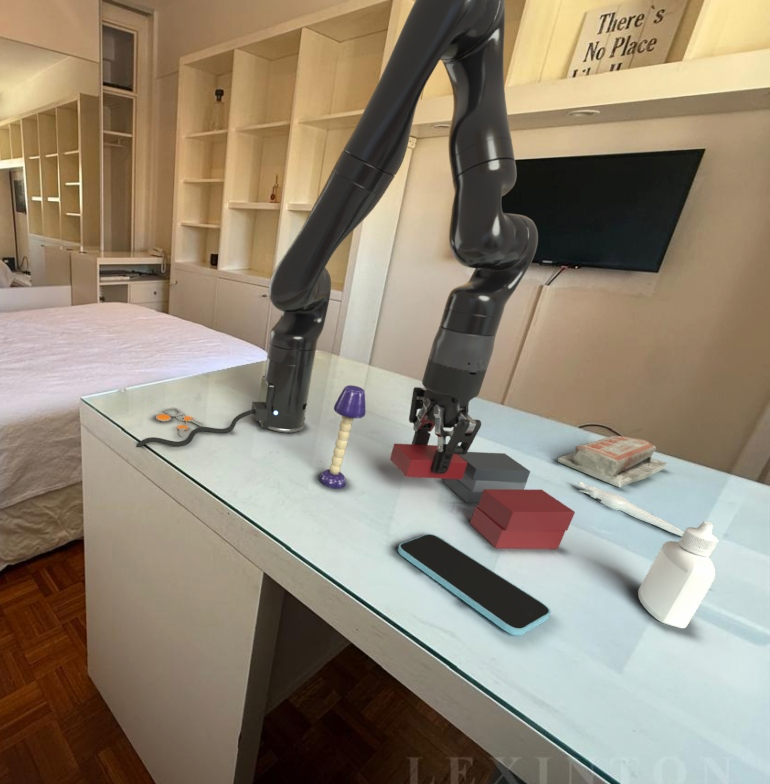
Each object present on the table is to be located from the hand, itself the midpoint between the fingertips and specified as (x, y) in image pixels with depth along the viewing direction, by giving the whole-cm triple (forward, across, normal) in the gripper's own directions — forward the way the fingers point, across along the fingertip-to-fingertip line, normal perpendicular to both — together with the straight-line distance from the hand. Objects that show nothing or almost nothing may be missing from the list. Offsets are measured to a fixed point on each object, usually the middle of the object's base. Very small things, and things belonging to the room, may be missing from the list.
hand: (427, 461), depth 72 cm
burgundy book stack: (+5, +11, +8) cm, 14 cm away
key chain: (+6, -23, -38) cm, 45 cm away
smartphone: (+5, +20, -5) cm, 21 cm away
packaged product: (+5, -10, +44) cm, 45 cm away
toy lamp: (+6, -2, -14) cm, 15 cm away
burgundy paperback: (+1, 0, 0) cm, 1 cm away
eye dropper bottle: (+5, +24, +16) cm, 29 cm away
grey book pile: (+5, 0, +11) cm, 12 cm away
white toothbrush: (+5, +5, +32) cm, 32 cm away
